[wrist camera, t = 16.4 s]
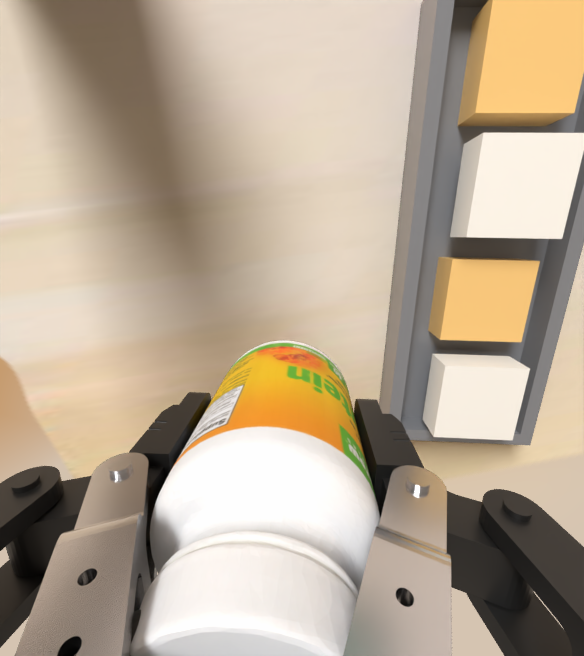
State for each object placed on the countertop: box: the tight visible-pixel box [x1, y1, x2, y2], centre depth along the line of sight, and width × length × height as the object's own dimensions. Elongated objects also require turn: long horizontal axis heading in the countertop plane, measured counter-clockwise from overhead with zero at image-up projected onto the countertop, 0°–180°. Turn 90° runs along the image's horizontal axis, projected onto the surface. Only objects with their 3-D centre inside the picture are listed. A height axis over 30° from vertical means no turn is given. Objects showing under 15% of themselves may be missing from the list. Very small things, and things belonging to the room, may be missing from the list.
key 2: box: [450, 133, 584, 239], centre depth 21 cm, size 6×6×2 cm
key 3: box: [428, 257, 540, 342], centre depth 24 cm, size 6×6×2 cm
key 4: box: [423, 354, 530, 440], centre depth 25 cm, size 6×6×2 cm
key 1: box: [457, 0, 584, 126], centre depth 20 cm, size 6×6×2 cm
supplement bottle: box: [130, 340, 380, 656], centre depth 9 cm, size 5×5×10 cm
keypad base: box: [379, 0, 584, 445], centre depth 24 cm, size 32×12×4 cm, turn 179°
